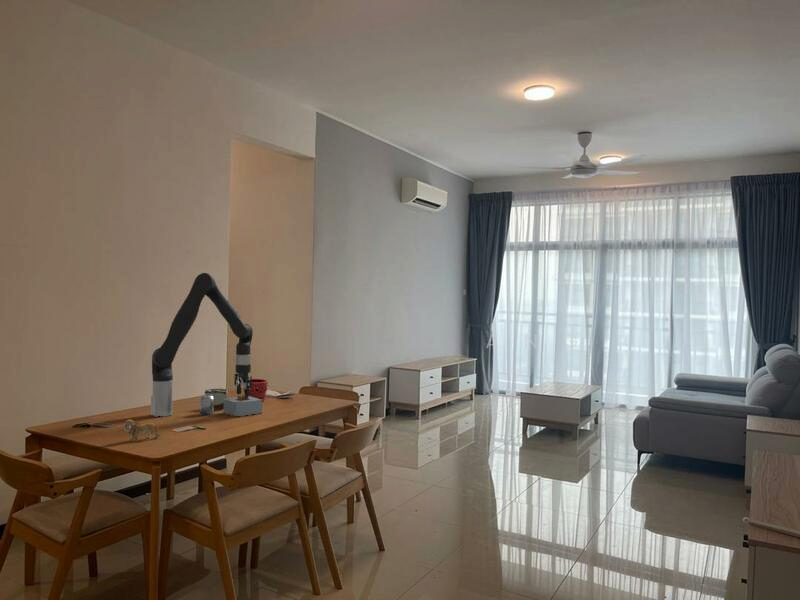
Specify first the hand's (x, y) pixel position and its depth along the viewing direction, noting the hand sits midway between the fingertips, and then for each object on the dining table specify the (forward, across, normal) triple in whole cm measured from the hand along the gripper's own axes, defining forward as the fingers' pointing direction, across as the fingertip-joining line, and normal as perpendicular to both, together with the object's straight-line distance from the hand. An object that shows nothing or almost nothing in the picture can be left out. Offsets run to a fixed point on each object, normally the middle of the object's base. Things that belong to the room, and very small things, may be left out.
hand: (242, 395), depth 304 cm
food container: (+9, -20, -4) cm, 22 cm away
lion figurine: (+9, +25, -58) cm, 64 cm away
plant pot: (+9, -26, +21) cm, 35 cm away
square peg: (+9, 0, 0) cm, 9 cm away
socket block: (+9, 0, 0) cm, 9 cm away
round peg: (+9, -9, -15) cm, 20 cm away
